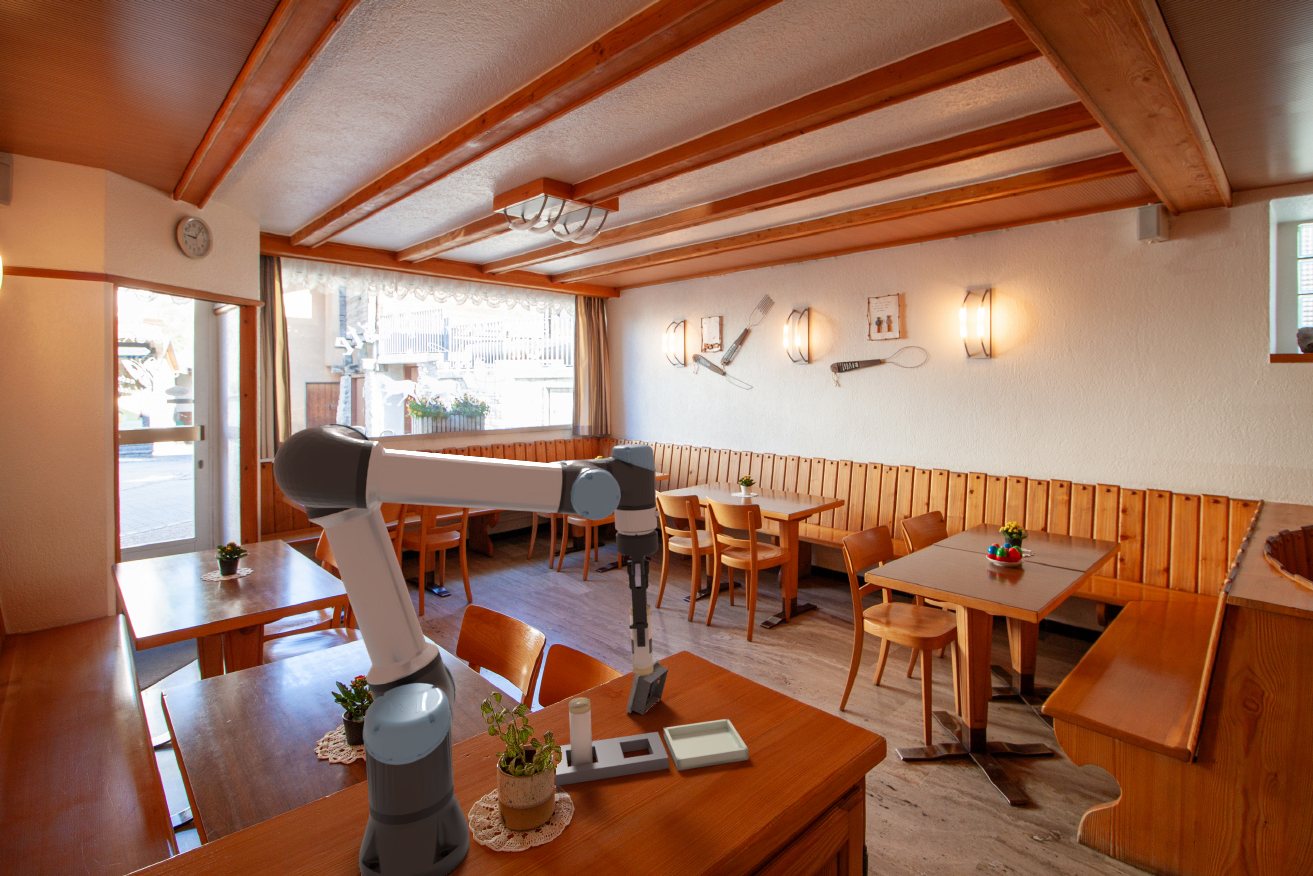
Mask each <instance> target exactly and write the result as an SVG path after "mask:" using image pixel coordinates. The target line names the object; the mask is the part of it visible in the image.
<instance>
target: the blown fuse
mask: <svg viewBox="0 0 1313 876" xmlns="http://www.w3.org/2000/svg"><path fill="white" fill-rule="evenodd" d="M646 605H647V623H648V631H649V653H650V663H635V659H634V637H633V629H630V646H631V647H630V648H631V664H632V665H631V667H632V668H631V669H632V674H634V676H635V675H640V676H643V675H649V674H651V673H652V672H653V660H654V656H653V651H654V650H653V633H652V610H651V609H652V608H651V607H652V606H651V604H649V603H647V604H646ZM629 621H630V622H629V625H632V624H633V610H632V604H631V605H630V606H629Z"/></svg>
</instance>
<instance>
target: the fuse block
mask: <svg viewBox="0 0 1313 876" xmlns="http://www.w3.org/2000/svg"><path fill="white" fill-rule="evenodd" d="M559 746H560V747H561V752H562V760H561V762H560V763H559V764H557V768H556V775H554V784H555V783H556V786H555V787H558V786H563V785H564V786H566V785H570V784H577V783H584V782H590V781H591V782H592V781H598V780H602V779H604V780H605V779H609V778H614V777H622V776H627V775H634V774H641V773H648V772H654V771H661V770H667V769H670V766H669V755H668V754H667V750H666V748H665V746H664V744H663V741H662V738H661V737H660V735H659V731H654V732H653V731H652V732H647V733H641V734H632V735H627V736H620V737H613V738H607V739H605V738H604V739H597V740H593V741H592V758H593V757H594V758H595V761H596V762H593V763H591V764H584V765H577V766H571V765H570V766H568V761H571V743H569V744H565V745H559ZM647 749H648V752H649V754H644V755H637V756H633V757H632V756H631V757H625V756H624V753H627V752H634V751H641V750H647Z"/></svg>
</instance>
